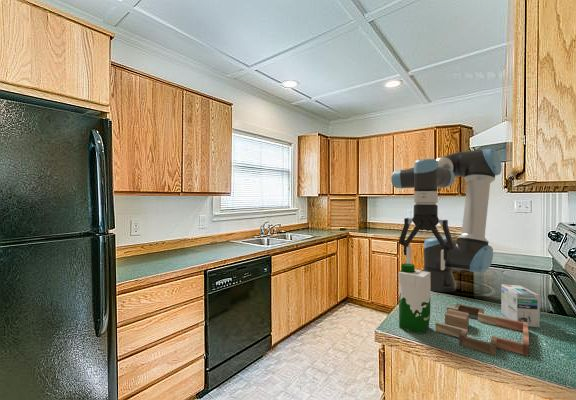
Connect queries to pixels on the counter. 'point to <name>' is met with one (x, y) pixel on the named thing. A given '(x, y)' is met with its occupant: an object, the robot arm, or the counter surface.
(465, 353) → the counter surface
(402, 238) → the robot arm
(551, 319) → the counter surface
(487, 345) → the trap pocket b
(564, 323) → the counter surface
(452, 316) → the block
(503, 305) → the light bulb box
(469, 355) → the counter surface
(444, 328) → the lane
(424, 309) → the milk carton
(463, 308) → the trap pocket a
